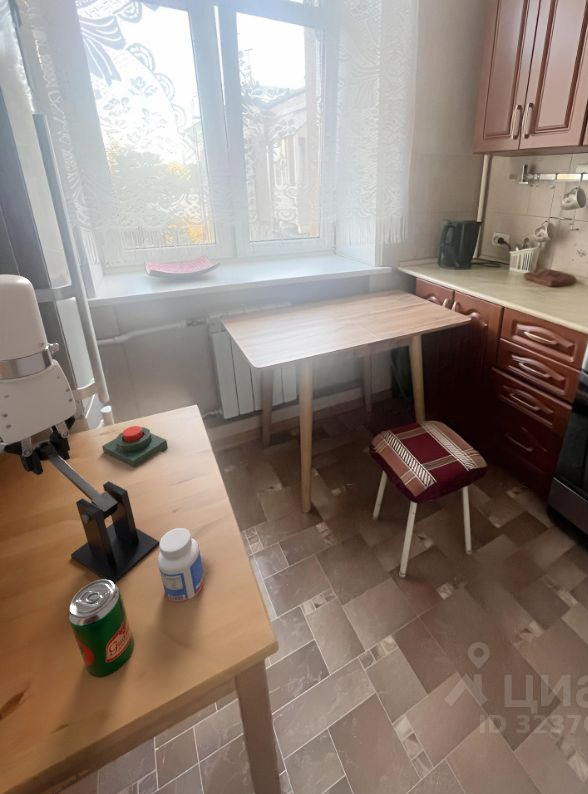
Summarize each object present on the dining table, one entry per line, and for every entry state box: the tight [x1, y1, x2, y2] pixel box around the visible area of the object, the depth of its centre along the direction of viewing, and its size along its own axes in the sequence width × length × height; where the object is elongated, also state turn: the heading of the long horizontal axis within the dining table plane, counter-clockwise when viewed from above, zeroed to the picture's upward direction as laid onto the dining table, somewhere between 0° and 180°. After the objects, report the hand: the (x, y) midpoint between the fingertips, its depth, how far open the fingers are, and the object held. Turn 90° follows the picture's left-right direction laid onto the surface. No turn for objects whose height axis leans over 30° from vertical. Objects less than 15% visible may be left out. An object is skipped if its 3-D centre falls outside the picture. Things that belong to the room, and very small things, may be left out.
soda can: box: [67, 578, 135, 679], centre depth 47 cm, size 5×5×12 cm
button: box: [122, 425, 143, 442], centre depth 84 cm, size 4×4×2 cm
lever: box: [32, 439, 118, 521], centre depth 61 cm, size 17×3×3 cm, turn 64°
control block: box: [101, 426, 169, 468], centre depth 85 cm, size 10×8×4 cm
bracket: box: [70, 480, 160, 584], centre depth 61 cm, size 10×8×12 cm
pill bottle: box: [157, 527, 205, 603], centre depth 56 cm, size 6×5×10 cm
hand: (49, 463), depth 63 cm, fingers closed on lever, 3 cm apart
